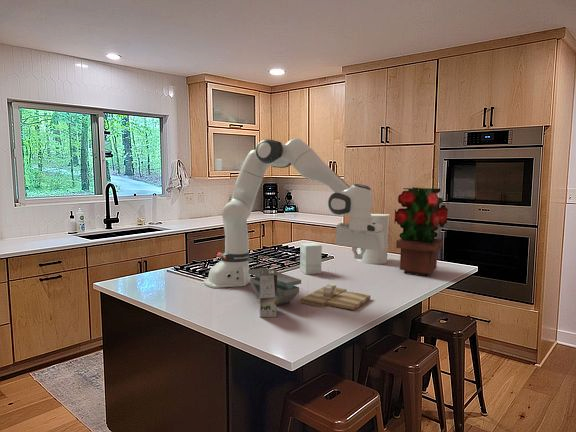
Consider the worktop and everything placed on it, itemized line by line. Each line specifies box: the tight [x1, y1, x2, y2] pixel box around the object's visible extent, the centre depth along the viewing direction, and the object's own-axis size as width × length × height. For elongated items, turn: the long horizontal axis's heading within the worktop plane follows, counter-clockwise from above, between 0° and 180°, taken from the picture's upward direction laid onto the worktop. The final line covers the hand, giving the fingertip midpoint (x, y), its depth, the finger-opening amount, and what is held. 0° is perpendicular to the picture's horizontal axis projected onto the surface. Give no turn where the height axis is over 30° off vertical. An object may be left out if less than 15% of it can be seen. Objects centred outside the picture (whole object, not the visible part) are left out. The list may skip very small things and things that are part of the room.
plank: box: [325, 290, 371, 311], centre depth 183 cm, size 18×12×1 cm
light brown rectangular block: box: [299, 283, 347, 308], centre depth 188 cm, size 24×10×6 cm, turn 149°
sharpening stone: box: [249, 267, 302, 306], centre depth 182 cm, size 25×8×11 cm, turn 40°
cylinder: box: [356, 213, 390, 265], centre depth 260 cm, size 17×17×28 cm
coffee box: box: [259, 268, 278, 318], centre depth 166 cm, size 9×6×16 cm
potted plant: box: [393, 186, 449, 277], centre depth 233 cm, size 22×22×45 cm
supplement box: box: [299, 242, 323, 275], centre depth 230 cm, size 9×9×15 cm
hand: (358, 258), depth 179 cm, fingers closed
